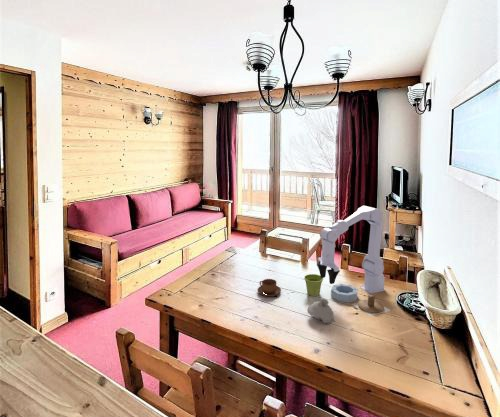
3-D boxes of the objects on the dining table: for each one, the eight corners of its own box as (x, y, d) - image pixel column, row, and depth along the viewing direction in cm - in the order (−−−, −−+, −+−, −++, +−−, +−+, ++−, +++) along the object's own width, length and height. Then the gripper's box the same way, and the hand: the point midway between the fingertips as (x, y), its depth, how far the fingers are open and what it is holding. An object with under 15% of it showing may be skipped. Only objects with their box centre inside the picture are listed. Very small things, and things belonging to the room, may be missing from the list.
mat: (371, 300, 154) (371, 299, 154) (390, 311, 143) (391, 310, 143) (351, 304, 150) (351, 304, 150) (369, 317, 139) (369, 316, 139)
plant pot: (323, 298, 156) (323, 282, 155) (303, 297, 158) (303, 280, 157) (322, 290, 165) (323, 274, 164) (304, 289, 167) (304, 273, 166)
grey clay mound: (338, 324, 138) (344, 305, 134) (318, 333, 132) (324, 313, 128) (319, 306, 147) (325, 288, 143) (300, 313, 141) (305, 294, 137)
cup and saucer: (254, 296, 160) (254, 285, 159) (261, 286, 171) (261, 275, 170) (277, 300, 156) (277, 288, 155) (283, 289, 167) (283, 278, 166)
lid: (371, 299, 153) (372, 289, 152) (389, 310, 143) (390, 299, 142) (353, 304, 149) (353, 293, 148) (369, 315, 139) (370, 303, 138)
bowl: (346, 289, 165) (346, 282, 165) (362, 299, 154) (362, 292, 154) (326, 294, 161) (327, 286, 160) (341, 304, 150) (342, 296, 149)
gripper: (312, 249, 156) (312, 276, 158) (329, 259, 143) (328, 287, 145) (325, 248, 158) (324, 274, 161) (343, 257, 145) (341, 285, 147)
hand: (327, 280), depth 153 cm, fingers open, 7 cm apart
